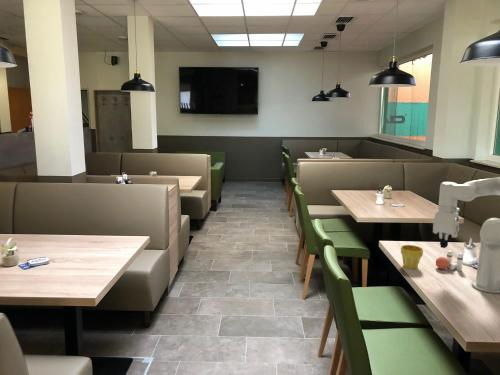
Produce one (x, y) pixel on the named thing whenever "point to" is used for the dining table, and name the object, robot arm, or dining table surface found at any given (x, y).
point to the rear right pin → (459, 262)
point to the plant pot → (411, 256)
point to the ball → (442, 263)
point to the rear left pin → (449, 257)
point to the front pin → (453, 266)
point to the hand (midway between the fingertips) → (443, 247)
